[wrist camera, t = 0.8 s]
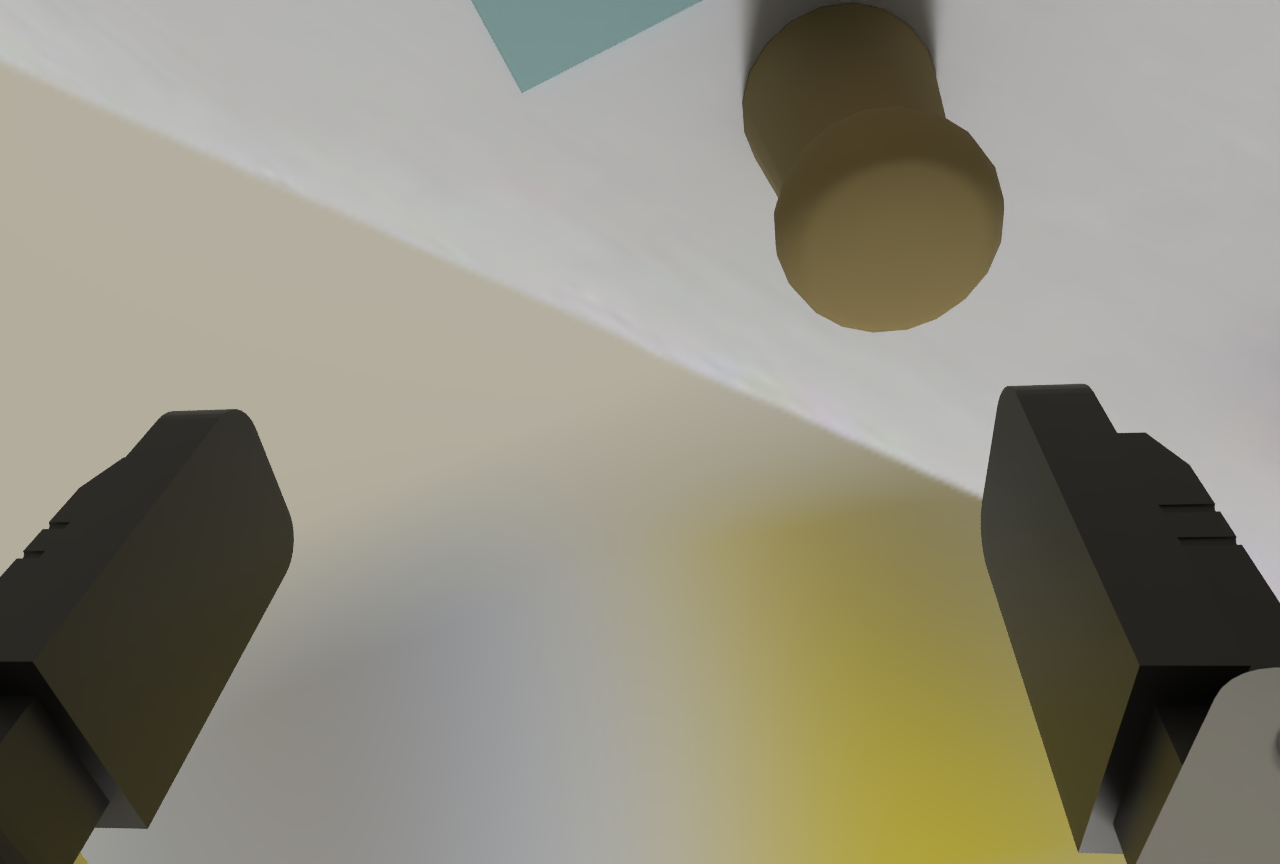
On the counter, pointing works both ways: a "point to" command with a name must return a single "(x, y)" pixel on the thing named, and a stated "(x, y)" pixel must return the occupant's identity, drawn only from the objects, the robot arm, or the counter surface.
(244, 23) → the counter surface
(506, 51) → the tile
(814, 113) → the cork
